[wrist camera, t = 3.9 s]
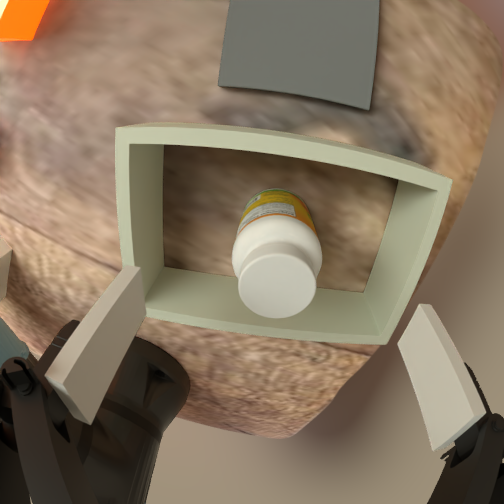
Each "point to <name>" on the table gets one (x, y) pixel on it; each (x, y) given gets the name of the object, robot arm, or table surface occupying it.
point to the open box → (226, 287)
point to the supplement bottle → (276, 254)
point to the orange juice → (20, 18)
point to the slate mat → (302, 48)
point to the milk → (4, 266)
